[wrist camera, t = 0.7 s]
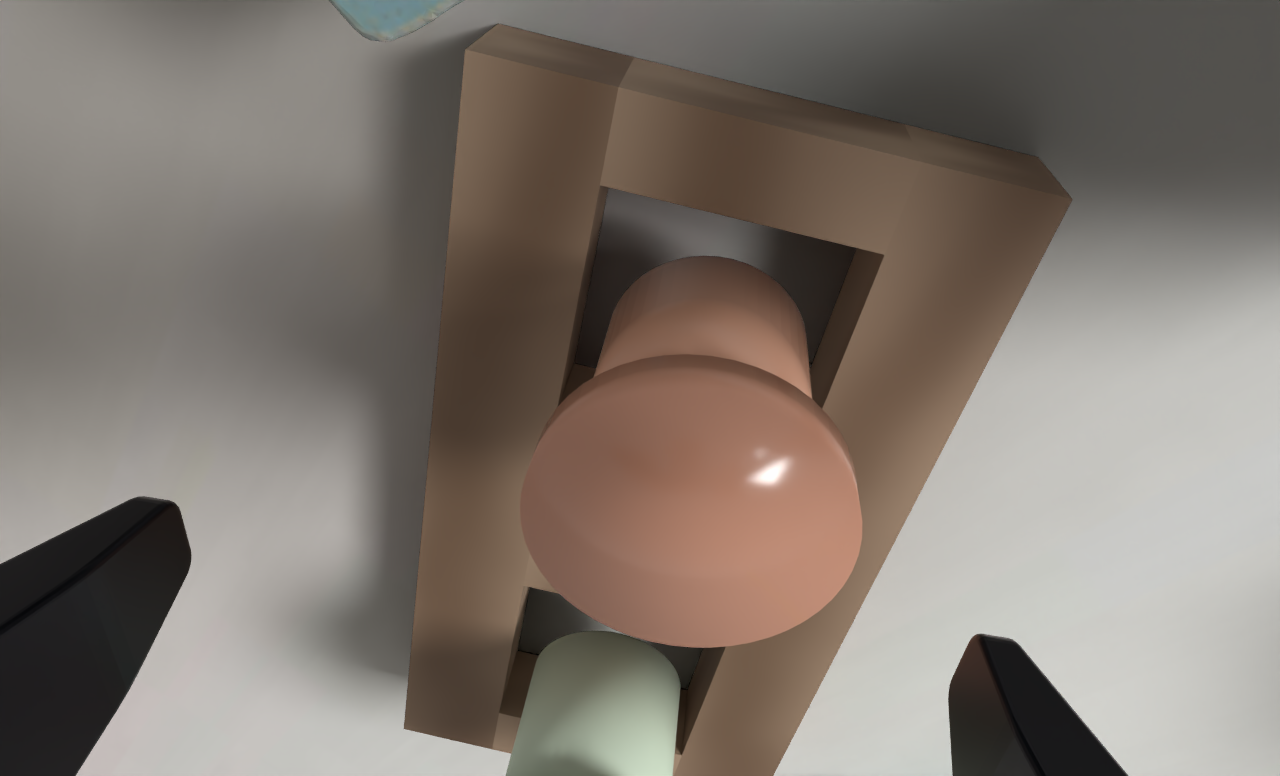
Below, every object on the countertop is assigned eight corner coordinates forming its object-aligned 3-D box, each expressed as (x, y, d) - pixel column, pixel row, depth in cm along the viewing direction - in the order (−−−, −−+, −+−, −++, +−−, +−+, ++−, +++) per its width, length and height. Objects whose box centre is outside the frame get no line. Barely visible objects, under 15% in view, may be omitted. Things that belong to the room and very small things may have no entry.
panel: (1038, 157, 19) (1072, 199, 17) (755, 743, 31) (755, 809, 29) (498, 23, 19) (464, 49, 16) (427, 667, 31) (403, 729, 29)
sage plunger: (721, 642, 24) (712, 854, 19) (676, 756, 28) (658, 963, 23) (527, 597, 24) (468, 797, 19) (504, 715, 27) (447, 915, 22)
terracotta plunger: (872, 265, 18) (917, 439, 13) (790, 471, 21) (800, 676, 16) (606, 200, 18) (545, 350, 13) (562, 417, 21) (501, 606, 16)
